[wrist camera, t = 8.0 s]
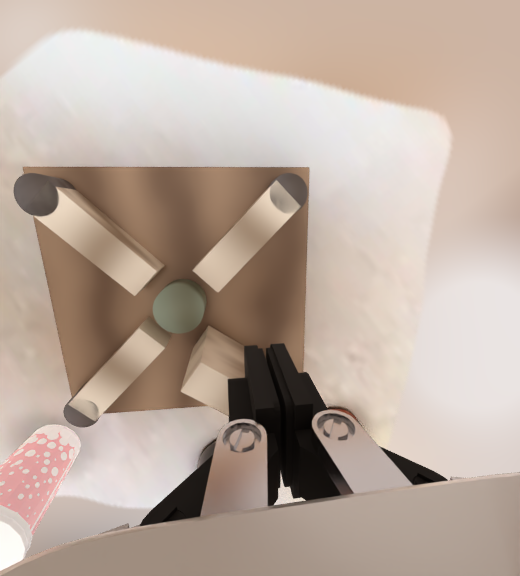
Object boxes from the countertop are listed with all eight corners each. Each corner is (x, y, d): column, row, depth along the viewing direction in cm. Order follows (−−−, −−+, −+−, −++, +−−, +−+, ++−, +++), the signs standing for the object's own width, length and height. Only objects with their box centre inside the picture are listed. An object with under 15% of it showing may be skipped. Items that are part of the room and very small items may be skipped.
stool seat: (89, 397, 27) (59, 436, 22) (46, 172, 21) (-7, 160, 17) (296, 383, 28) (309, 416, 24) (301, 172, 23) (318, 161, 19)
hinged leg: (301, 378, 25) (321, 427, 19) (284, 399, 26) (299, 454, 20) (209, 324, 23) (201, 361, 17) (192, 348, 23) (179, 392, 18)
